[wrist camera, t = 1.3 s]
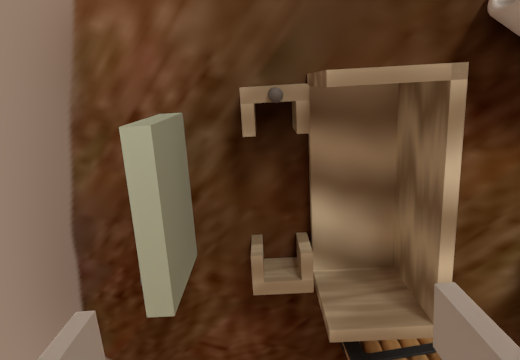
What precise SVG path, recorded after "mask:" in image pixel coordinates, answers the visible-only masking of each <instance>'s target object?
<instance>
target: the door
mask: <svg viewBox="0 0 520 360" xmlns="http://www.w3.org/2000/svg"><path fill="white" fill-rule="evenodd" d="M119 132H120V138H121V145H122V152H123V159H124V166H125V172H126V179H127V186H128V193H129V200H130V206H131V213H132V220H133V227H134V234H135V240H136V247H137V254H138V261H139V268H140V274H141V276H140V282H141V286H142V288H143V295H144V302H145V308H146V315H147V317H168V316H175V314H176V311H177V309H178V306H179V303H180V300H181V298H182V295H183V292H184V290H185V287H186V284H187V282H188V279H189V276H190V273H191V271H192V268H193V265H194V263H195V260H196V257H197V247H196V238H195V228H194V219H193V209H192V200H191V190H190V180H189V171H188V161H187V152H186V142H185V133H184V123H183V114H182V113H170V114H158V115H155V116H152V117H149V118H146V119H143V120H139V121H136V122H133V123H130V124H127V125H124V126H120V127H119Z"/></svg>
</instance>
